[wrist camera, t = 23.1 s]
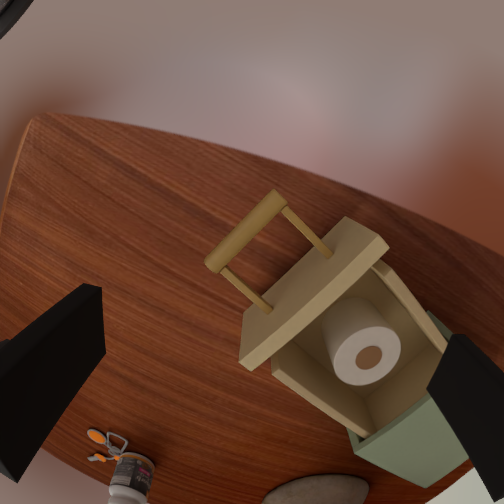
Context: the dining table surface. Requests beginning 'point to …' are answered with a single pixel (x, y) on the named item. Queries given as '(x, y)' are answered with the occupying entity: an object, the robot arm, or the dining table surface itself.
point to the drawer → (315, 308)
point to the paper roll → (359, 341)
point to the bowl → (320, 490)
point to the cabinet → (415, 440)
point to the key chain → (102, 439)
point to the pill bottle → (131, 479)
